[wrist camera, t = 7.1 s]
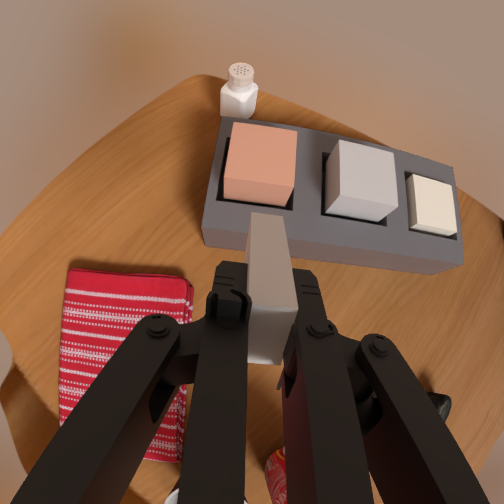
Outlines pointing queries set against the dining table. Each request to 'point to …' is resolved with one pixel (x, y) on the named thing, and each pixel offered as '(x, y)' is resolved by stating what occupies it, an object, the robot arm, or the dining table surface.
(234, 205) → the three-slot sorting tray
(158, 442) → the dish towel
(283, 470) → the soda can
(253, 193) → the key terracotta
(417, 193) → the key cream
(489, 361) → the dining table surface
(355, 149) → the key grey
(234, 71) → the salt shaker
